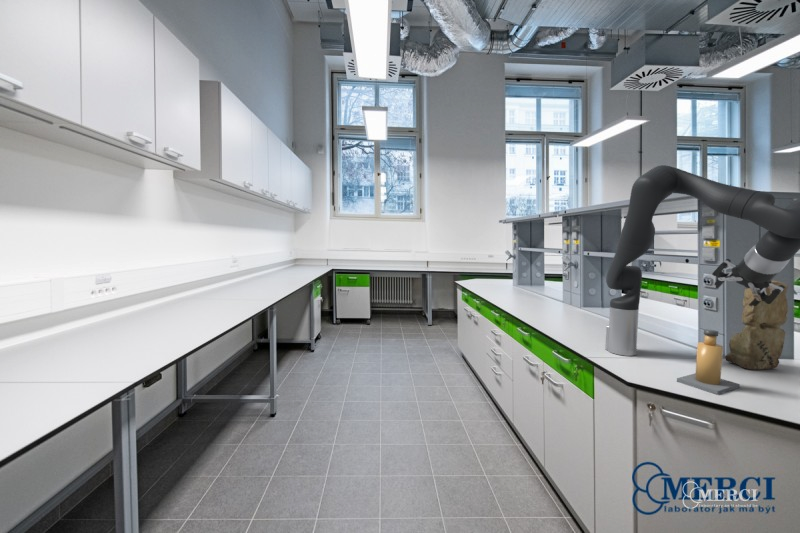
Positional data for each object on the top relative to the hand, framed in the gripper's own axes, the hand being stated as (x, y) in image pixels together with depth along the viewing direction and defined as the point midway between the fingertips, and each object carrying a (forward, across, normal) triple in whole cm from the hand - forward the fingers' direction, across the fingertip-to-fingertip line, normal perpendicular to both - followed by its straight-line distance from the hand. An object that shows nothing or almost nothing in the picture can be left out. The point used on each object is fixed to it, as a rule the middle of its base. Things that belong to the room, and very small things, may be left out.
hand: (734, 294), depth 103 cm
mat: (+16, -10, +20) cm, 28 cm away
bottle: (+15, -10, +20) cm, 27 cm away
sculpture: (+34, -16, -6) cm, 38 cm away
